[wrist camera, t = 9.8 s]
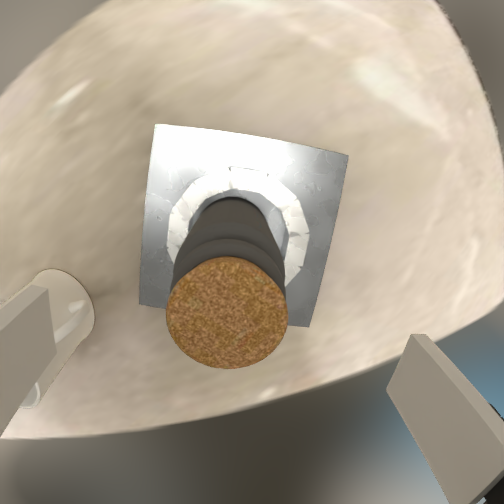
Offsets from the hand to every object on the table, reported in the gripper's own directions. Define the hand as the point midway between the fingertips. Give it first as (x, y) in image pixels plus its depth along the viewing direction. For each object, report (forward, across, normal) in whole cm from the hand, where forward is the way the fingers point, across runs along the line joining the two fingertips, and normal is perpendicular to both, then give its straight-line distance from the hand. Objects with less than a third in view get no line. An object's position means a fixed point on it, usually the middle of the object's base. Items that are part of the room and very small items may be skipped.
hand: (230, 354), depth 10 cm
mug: (+18, -15, -10) cm, 26 cm away
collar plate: (+18, +1, 0) cm, 18 cm away
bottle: (+17, 0, 0) cm, 17 cm away
